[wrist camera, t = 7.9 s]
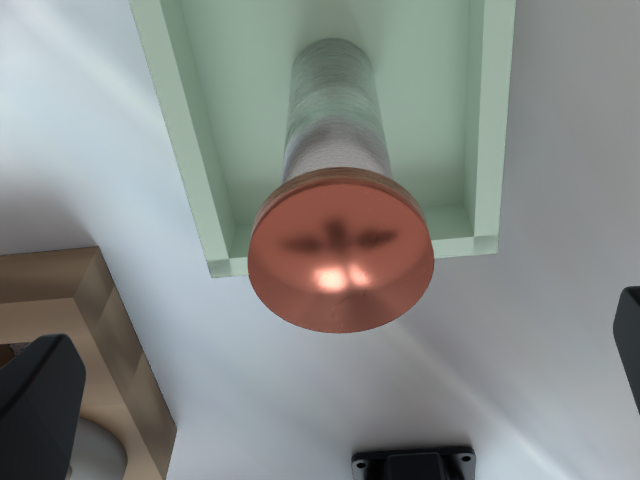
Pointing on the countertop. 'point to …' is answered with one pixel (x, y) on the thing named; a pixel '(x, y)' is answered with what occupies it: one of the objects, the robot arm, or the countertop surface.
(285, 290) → the lock pin
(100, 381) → the block
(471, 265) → the countertop surface
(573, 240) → the countertop surface
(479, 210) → the tray
